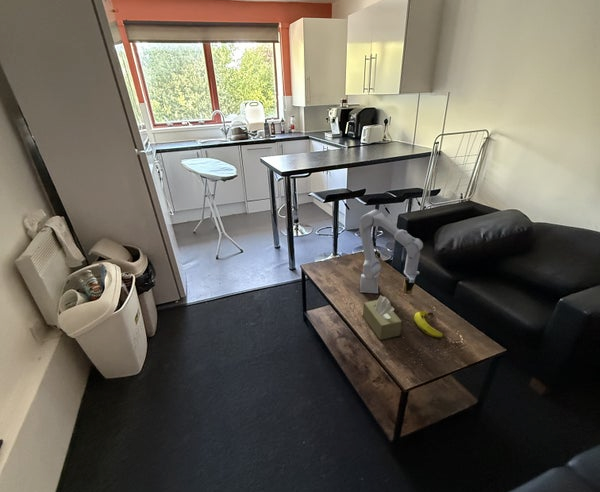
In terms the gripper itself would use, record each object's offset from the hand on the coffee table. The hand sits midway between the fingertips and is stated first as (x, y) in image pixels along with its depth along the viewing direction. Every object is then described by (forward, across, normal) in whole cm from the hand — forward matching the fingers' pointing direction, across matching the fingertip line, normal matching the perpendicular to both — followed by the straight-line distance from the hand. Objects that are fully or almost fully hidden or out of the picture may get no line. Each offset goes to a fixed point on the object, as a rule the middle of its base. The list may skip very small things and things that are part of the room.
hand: (407, 287), depth 158 cm
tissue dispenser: (+9, -20, +14) cm, 26 cm away
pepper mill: (+2, 0, 0) cm, 2 cm away
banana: (+9, -17, -9) cm, 22 cm away
